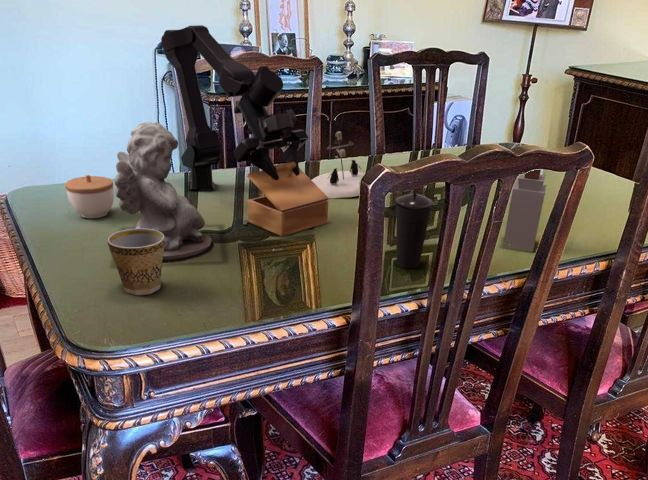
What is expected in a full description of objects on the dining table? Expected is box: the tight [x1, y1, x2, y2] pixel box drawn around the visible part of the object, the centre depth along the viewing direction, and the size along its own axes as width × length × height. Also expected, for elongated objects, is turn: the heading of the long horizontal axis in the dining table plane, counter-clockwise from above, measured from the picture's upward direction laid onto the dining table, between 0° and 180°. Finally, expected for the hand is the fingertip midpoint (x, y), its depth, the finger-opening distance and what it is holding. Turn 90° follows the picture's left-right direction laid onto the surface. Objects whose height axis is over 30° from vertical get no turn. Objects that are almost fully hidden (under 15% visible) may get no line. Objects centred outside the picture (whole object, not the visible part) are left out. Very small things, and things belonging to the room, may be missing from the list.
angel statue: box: [114, 121, 215, 263], centre depth 133 cm, size 22×22×25 cm
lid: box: [246, 162, 330, 213], centre depth 149 cm, size 13×15×5 cm
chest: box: [246, 195, 329, 237], centre depth 153 cm, size 13×15×5 cm
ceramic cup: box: [106, 227, 164, 296], centre depth 119 cm, size 13×10×10 cm
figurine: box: [311, 131, 365, 199], centre depth 175 cm, size 20×18×16 cm
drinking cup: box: [394, 188, 434, 269], centre depth 130 cm, size 8×8×20 cm
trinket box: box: [64, 174, 115, 219], centre depth 152 cm, size 11×11×9 cm
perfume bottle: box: [502, 169, 548, 253], centre depth 142 cm, size 7×7×18 cm
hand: (288, 177), depth 149 cm, fingers closed on lid, 6 cm apart
